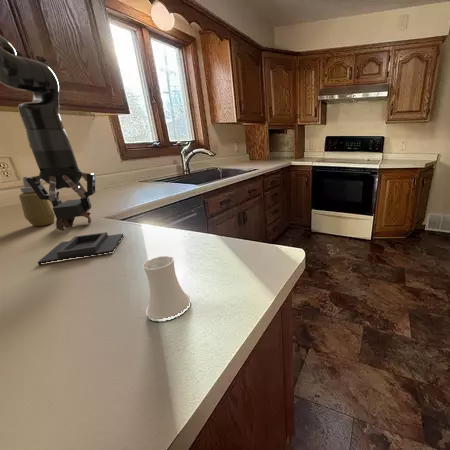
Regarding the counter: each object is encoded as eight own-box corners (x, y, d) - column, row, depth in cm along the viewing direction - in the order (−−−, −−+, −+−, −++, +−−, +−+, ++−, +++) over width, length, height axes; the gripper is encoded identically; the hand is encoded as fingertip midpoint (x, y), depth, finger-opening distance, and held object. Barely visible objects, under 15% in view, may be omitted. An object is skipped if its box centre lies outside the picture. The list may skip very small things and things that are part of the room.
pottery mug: (58, 226, 92) (66, 205, 93) (89, 233, 96) (96, 213, 97) (44, 228, 81) (54, 204, 82) (80, 235, 86) (88, 213, 87)
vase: (186, 318, 44) (176, 270, 40) (140, 325, 42) (125, 276, 39) (194, 294, 51) (186, 250, 47) (154, 299, 49) (143, 254, 46)
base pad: (38, 265, 63) (35, 257, 62) (62, 245, 75) (59, 237, 74) (113, 253, 69) (110, 245, 68) (123, 236, 81) (122, 229, 80)
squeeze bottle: (27, 229, 88) (6, 179, 82) (30, 224, 94) (10, 176, 88) (57, 224, 93) (39, 176, 87) (58, 219, 99) (42, 174, 93)
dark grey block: (56, 219, 64) (52, 208, 63) (70, 210, 71) (66, 200, 70) (80, 216, 66) (76, 205, 65) (91, 207, 73) (88, 198, 72)
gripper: (91, 147, 68) (109, 205, 74) (23, 149, 63) (47, 211, 69) (82, 148, 62) (102, 212, 68) (5, 150, 57) (33, 219, 62)
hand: (74, 211), depth 68 cm, fingers closed on dark grey block, 5 cm apart
